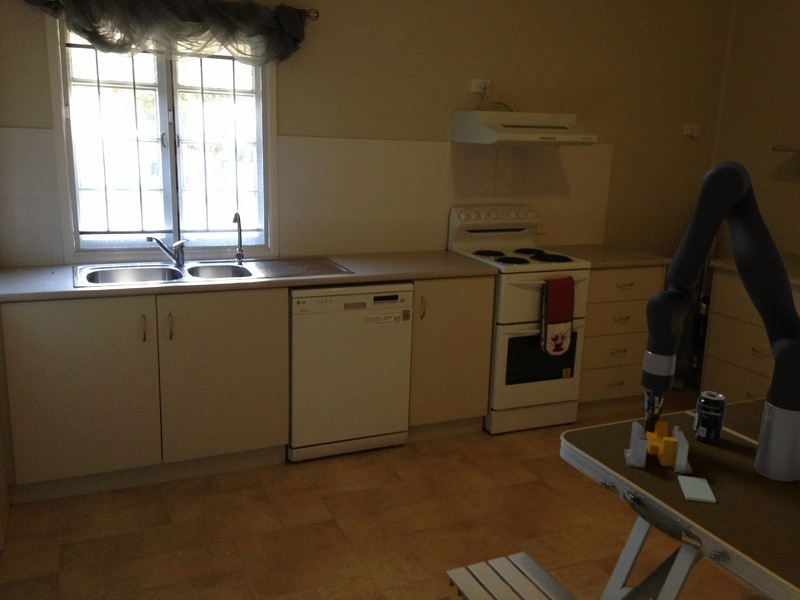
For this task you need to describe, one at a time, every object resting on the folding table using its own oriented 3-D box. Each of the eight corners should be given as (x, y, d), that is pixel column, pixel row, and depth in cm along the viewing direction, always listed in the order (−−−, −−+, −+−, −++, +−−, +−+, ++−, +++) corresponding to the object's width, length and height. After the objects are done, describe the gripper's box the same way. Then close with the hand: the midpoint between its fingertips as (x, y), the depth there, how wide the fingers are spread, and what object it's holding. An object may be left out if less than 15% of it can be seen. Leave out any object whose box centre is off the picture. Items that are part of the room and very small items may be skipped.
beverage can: (701, 431, 190) (707, 388, 187) (725, 440, 185) (732, 396, 182) (686, 437, 186) (693, 393, 183) (711, 446, 181) (718, 402, 178)
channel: (682, 453, 176) (686, 426, 175) (691, 473, 166) (696, 445, 164) (622, 446, 179) (625, 420, 177) (627, 466, 168) (630, 438, 166)
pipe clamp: (645, 443, 181) (648, 419, 180) (663, 445, 181) (666, 421, 179) (653, 464, 170) (656, 439, 168) (672, 466, 169) (676, 441, 168)
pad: (705, 481, 162) (705, 478, 162) (715, 503, 153) (716, 500, 153) (677, 477, 163) (677, 475, 163) (686, 499, 154) (686, 496, 154)
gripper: (678, 379, 171) (668, 446, 175) (669, 362, 183) (660, 424, 188) (645, 376, 172) (636, 442, 176) (639, 358, 185) (630, 420, 189)
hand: (648, 433), depth 182 cm, fingers closed
